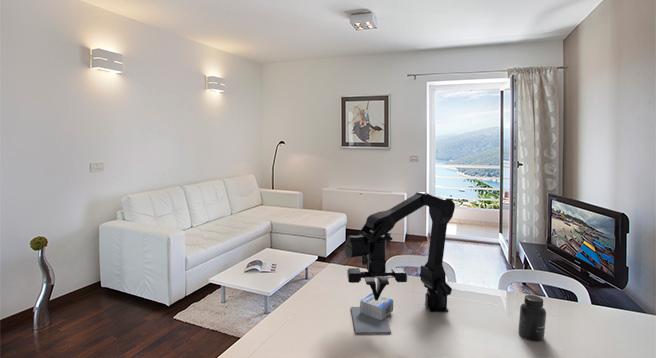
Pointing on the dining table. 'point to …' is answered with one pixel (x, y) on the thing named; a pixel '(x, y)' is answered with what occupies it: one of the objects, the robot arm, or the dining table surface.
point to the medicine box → (376, 306)
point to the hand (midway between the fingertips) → (376, 299)
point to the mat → (368, 323)
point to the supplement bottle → (532, 318)
